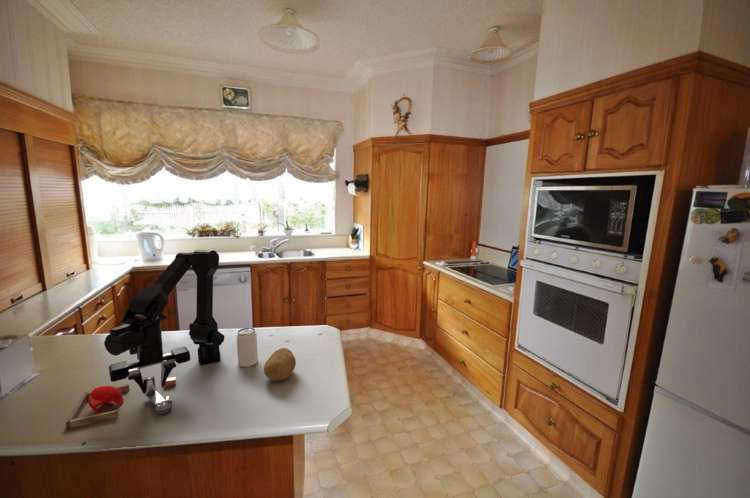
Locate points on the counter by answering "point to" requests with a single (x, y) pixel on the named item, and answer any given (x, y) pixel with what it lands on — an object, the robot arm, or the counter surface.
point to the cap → (104, 396)
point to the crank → (155, 395)
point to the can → (247, 347)
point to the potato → (280, 365)
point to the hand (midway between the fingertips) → (153, 390)
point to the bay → (76, 422)
